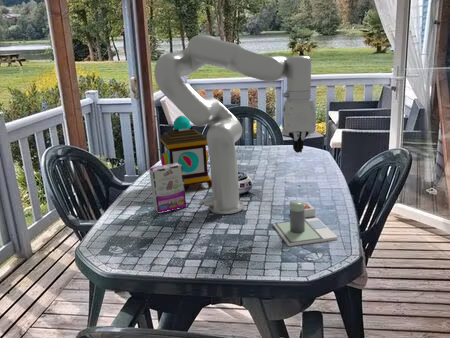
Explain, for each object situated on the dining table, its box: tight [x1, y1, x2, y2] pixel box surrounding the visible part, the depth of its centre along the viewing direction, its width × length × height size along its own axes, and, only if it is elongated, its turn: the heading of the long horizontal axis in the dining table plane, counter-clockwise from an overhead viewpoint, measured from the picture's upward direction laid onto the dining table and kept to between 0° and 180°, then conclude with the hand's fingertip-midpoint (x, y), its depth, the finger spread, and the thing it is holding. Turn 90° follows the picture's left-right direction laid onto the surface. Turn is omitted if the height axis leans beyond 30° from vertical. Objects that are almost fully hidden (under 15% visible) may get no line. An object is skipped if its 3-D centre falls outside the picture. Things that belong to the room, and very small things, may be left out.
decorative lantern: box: [159, 115, 212, 188], centre depth 184 cm, size 20×20×30 cm
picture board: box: [272, 217, 339, 247], centre depth 136 cm, size 15×16×1 cm
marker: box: [289, 199, 306, 233], centre depth 134 cm, size 4×4×9 cm
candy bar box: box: [148, 163, 187, 213], centre depth 160 cm, size 11×5×16 cm, turn 117°
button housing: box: [305, 202, 316, 218], centre depth 150 cm, size 6×6×3 cm
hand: (298, 151), depth 146 cm, fingers closed
